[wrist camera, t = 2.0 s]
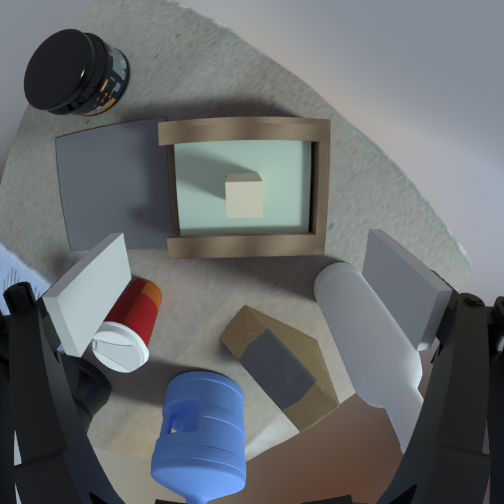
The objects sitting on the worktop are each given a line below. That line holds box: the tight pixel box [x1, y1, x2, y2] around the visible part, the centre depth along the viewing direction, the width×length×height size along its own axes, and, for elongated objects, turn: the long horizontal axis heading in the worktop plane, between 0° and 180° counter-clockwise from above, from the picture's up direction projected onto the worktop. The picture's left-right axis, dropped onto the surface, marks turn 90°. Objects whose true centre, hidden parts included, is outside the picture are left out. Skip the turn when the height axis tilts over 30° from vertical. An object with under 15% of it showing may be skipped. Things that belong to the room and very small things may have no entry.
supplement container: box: [24, 29, 130, 116], centre depth 24 cm, size 10×10×12 cm
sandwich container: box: [220, 305, 339, 433], centre depth 39 cm, size 9×15×15 cm, turn 57°
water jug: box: [151, 371, 246, 504], centre depth 39 cm, size 16×16×28 cm
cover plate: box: [174, 140, 311, 236], centre depth 28 cm, size 15×13×8 cm
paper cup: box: [92, 279, 162, 373], centre depth 36 cm, size 8×8×14 cm
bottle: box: [313, 262, 424, 454], centre depth 29 cm, size 8×8×30 cm
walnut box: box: [158, 117, 330, 259], centre depth 33 cm, size 18×15×7 cm
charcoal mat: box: [56, 117, 173, 251], centre depth 35 cm, size 18×18×1 cm
